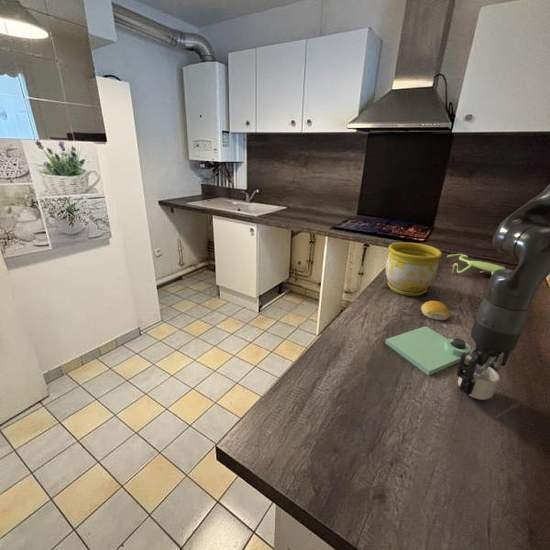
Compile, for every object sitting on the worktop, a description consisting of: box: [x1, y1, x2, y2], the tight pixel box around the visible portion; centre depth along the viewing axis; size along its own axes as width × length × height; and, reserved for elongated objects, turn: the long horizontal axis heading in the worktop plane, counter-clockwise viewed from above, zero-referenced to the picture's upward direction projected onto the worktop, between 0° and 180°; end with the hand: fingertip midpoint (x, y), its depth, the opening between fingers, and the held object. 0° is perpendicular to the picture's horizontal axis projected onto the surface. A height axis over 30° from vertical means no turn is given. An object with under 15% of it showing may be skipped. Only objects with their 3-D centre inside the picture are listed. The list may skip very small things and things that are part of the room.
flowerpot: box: [385, 241, 443, 297], centre depth 111 cm, size 18×18×16 cm
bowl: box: [457, 365, 501, 401], centre depth 63 cm, size 6×6×5 cm
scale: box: [384, 325, 472, 376], centre depth 78 cm, size 16×14×3 cm
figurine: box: [446, 253, 507, 275], centre depth 129 cm, size 18×27×6 cm
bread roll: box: [420, 300, 451, 322], centre depth 96 cm, size 8×9×4 cm
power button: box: [452, 337, 467, 349], centre depth 76 cm, size 3×3×2 cm
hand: (475, 386), depth 64 cm, fingers closed on bowl, 6 cm apart
